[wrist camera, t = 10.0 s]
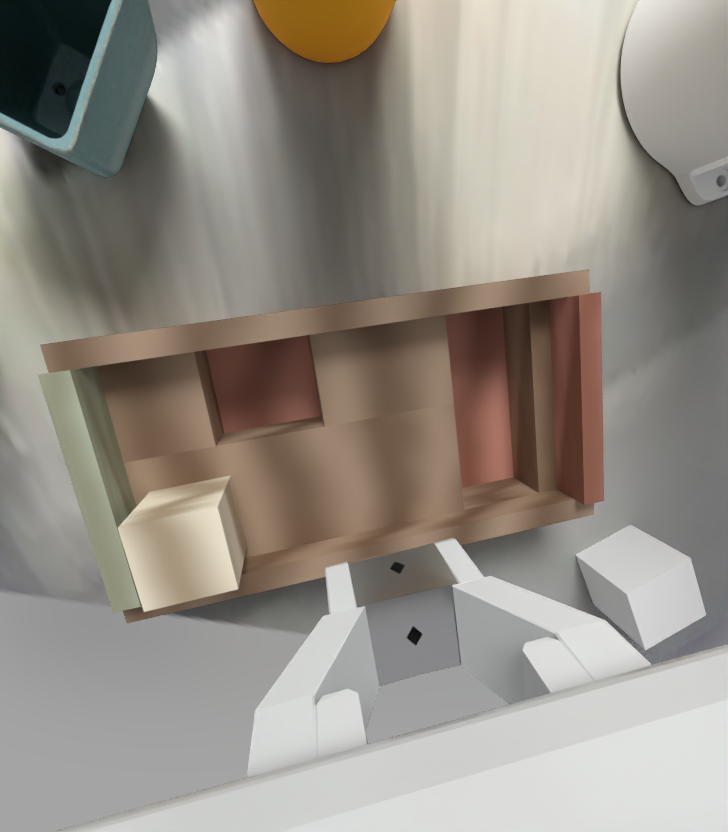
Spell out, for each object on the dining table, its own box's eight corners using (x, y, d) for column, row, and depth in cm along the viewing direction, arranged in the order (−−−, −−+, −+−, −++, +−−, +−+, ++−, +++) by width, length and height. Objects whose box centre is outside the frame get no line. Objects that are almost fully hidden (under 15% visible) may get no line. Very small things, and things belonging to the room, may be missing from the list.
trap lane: (534, 281, 32) (600, 266, 25) (544, 484, 36) (604, 520, 29) (93, 342, 27) (28, 345, 20) (157, 569, 31) (120, 634, 24)
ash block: (230, 475, 27) (217, 506, 22) (247, 544, 28) (238, 589, 23) (149, 491, 26) (117, 528, 21) (169, 562, 27) (143, 612, 22)
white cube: (574, 554, 38) (626, 594, 32) (629, 523, 38) (690, 557, 32) (592, 604, 39) (645, 650, 33) (645, 574, 40) (706, 615, 34)
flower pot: (141, 215, 26) (68, 156, 18) (-12, 142, 24) (-180, 35, 16) (190, 79, 25) (140, -53, 17) (36, -10, 23) (-113, -213, 15)
